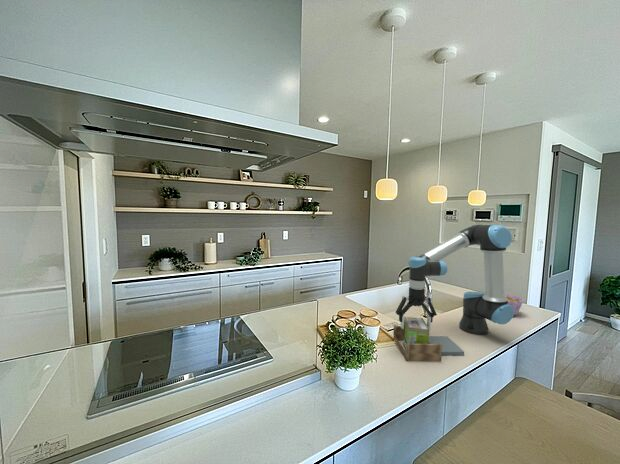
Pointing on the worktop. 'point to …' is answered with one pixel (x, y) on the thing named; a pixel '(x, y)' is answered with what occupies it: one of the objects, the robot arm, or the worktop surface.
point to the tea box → (415, 331)
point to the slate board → (446, 346)
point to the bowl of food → (514, 302)
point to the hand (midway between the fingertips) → (415, 328)
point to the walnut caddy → (417, 348)
